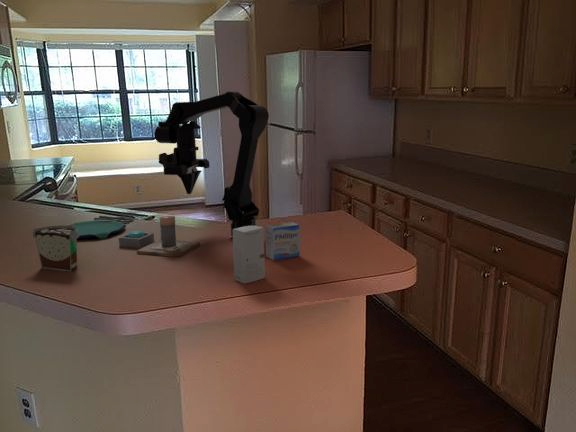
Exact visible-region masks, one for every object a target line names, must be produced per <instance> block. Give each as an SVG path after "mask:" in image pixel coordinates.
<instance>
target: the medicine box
mask: <svg viewBox="0 0 576 432" xmlns="http://www.w3.org/2000/svg"><path fill="white" fill-rule="evenodd" d="M300 242H301V241H300V224H298V223H296V222H293V221H291V222H290V221H289V222H284V223H282V222H281V223H277V224H270V225H269V224H268V225H265V255H266V257H267V258H269V260H272V261H275V262H277V261H281V260H286V259H287V260H288V259H292V258H296V257H300V252H301V251H300V249H301V248H300V247H301V245H300Z"/></svg>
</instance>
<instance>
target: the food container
mask: <svg viewBox="0 0 576 432" xmlns="http://www.w3.org/2000/svg"><path fill="white" fill-rule="evenodd" d="M69 225H70V224H69ZM69 225H65V224H59V225H58V224H57V225H56V224H55V225H49V226H41V227H37V228H33V231H32V238H34V240H35V243H36V244H35V245H36V249H37V253H38V258H39V263H40V267H41V269H46V270H47V269H49V270H57V271H65V272H73V271H75V270H77V268H78V243H77V241H78V240H77V239H78V238H80V237H79V233H78V230H77V229H76V227H74V226H69Z"/></svg>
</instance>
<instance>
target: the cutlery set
mask: <svg viewBox="0 0 576 432" xmlns="http://www.w3.org/2000/svg"><path fill="white" fill-rule="evenodd" d="M138 219H139V218H138V217H137V218H135V217H128V216H123V215H122V216H116V217H115V216H107V215H99V216H98V217H93V220H87V221H78V222H74V223H73V224H69V226H74V227H76V229H77V230H78V233H79V238H94V237H95V238H96V237H97V238H99V240H105V239H106V238H107V237H108V236H109V235H111V234H115V233H119V232H121V231H122V230H124V229H125V228H126V227H127V223H128V224H130V222H133V221H134V220H138ZM121 220H123V221H121ZM104 238H105V239H104Z"/></svg>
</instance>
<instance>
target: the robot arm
mask: <svg viewBox="0 0 576 432" xmlns="http://www.w3.org/2000/svg"><path fill="white" fill-rule="evenodd" d="M227 108H229V109H230V111H231V112H232V114H233V115H234V116H236V118H237V119H238V128H239V133H240V135H241V136H240V143H239V147H238V153H237V158H236V159H237V160H236V165H235V170H234V171H235V172H234V176H233V182H232V183H231V185H230V186H226V187H224V189H223V196H222V197H223V198H222V199H221V201H222V202H223V208H224V209H225V211H226V214H227V217H228V220H229V221H231V223H230V232H231V235H230V236H231V237H230V241H231V240H232V241H233V231H232V230H233V229H235V228H240V227H244V226H250V225H254V226H257V224H256V217H258V216H259V212H260V209H259V208H258V206H257V205H256V203H254V201H252V199H253V192H252V189H251V186H250V185H251V178H252V172H253V168H254V163H255V159H256V152H257V148H258V143H259V139H260V137H261V135H262V134H263V133H264V131H265V130H266V127H267V124H268V121H269V118H270V114H269V112H268V110H267V108H266V107H265V106H264V105H260V104H258V103H256V102H255V101H253V100H251V99H249V98H247V97H246V96H244V94H241V93H240V92H238V91H226V92H225V93H222V94H217V95H215V96H211V97H208V98H205V99H200V100H196V101H177V102H176V101H175V102H174V103H173V104H172V105H171V109H170V112H169V114H168V116H167V118H166V119H165V121H163V120H162V121H158V125H157V126H156V127H155V130H154V139H155V141H156V142H157V143H159V144H176V146H175V147H174V148H173V152H172V153H169V154H167V152H163V153H160V154H158V164H160V165H162V167H163V175H164V176H165V175H166V176H177V177H178V178H180V180H181V182H182V184H183V187H184V189H185V192H186V194H187V195H191V194H192V193H193V191H194V188H195V185H196V183H197V181H198V178H199V176H200V174H201V173H202V170H198V168H204V169H209V168H210V161H209V160H208V158H197V151H199V146H196V145H197V144H196V130H200V129H201V126H200V125H199V124H198V123H197V122H196V120H197V119H199V118H201V117H202V116H203V115H205V114H208V113H211V112H215V111H219V110H223V109H227Z"/></svg>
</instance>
